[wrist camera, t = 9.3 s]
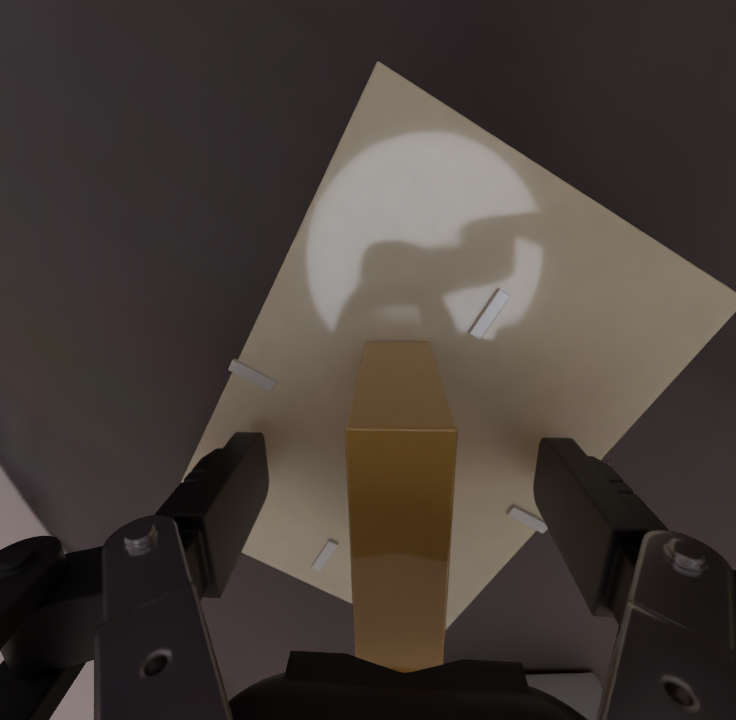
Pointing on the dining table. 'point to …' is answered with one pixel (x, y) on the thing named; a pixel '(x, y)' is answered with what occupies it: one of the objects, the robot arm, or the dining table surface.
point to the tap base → (453, 330)
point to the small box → (571, 690)
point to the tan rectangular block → (400, 505)
